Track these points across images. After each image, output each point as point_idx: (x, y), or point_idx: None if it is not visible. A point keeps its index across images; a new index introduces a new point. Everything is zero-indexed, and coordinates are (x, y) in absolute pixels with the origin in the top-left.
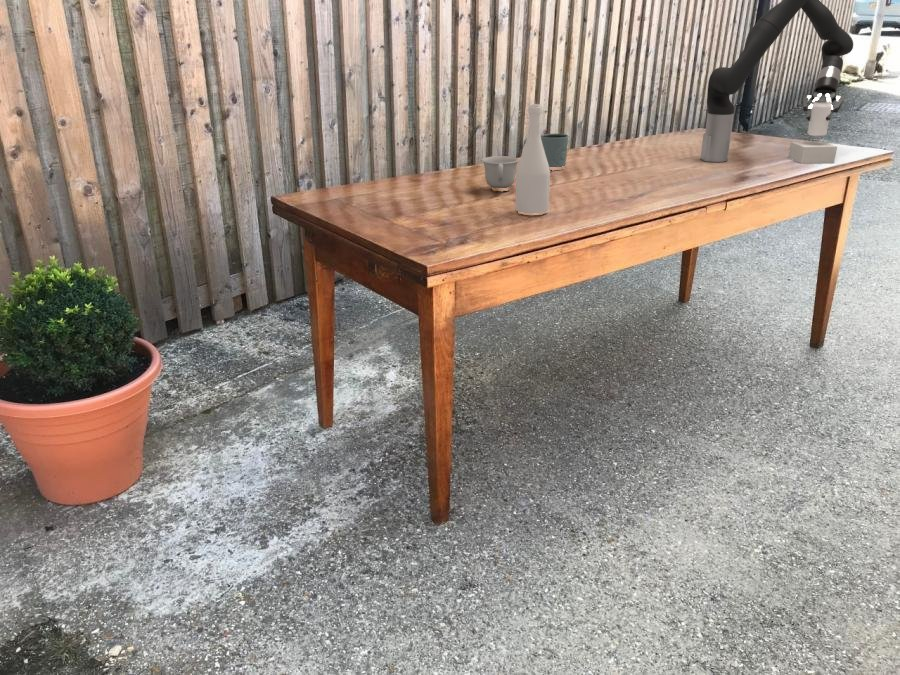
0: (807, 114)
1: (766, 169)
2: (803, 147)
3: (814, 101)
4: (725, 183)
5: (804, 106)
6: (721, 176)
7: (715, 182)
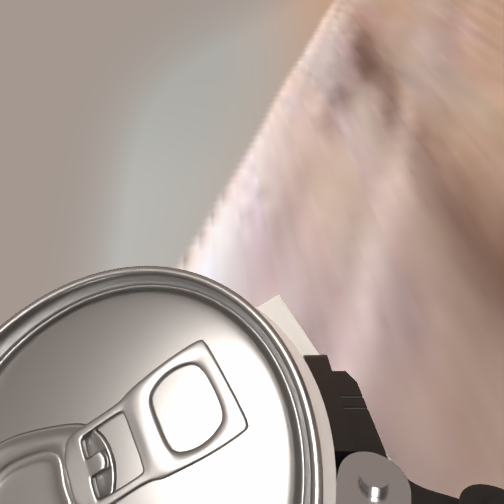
0: (348, 393)
1: (358, 168)
2: (282, 302)
3: (303, 383)
4: (377, 21)
5: (500, 500)
6: (420, 59)
7: (399, 19)
